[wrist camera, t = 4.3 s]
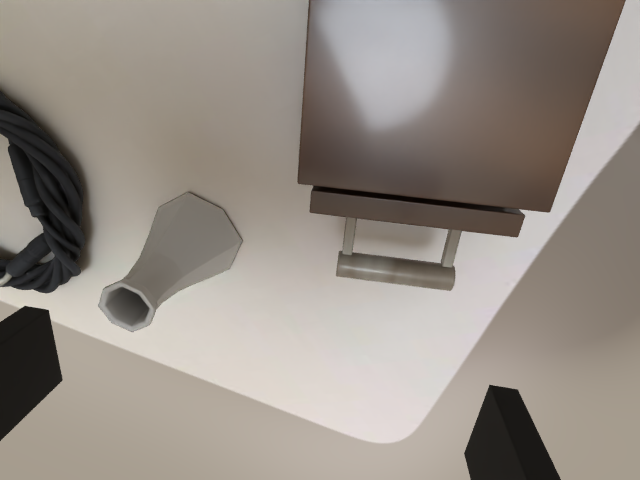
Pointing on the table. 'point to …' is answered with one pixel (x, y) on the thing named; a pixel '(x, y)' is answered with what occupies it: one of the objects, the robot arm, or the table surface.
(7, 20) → the table surface
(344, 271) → the drawer
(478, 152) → the cabinet
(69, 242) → the cable
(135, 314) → the flask
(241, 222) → the table surface
